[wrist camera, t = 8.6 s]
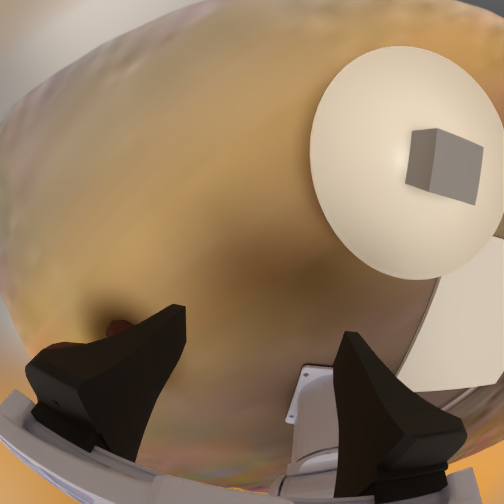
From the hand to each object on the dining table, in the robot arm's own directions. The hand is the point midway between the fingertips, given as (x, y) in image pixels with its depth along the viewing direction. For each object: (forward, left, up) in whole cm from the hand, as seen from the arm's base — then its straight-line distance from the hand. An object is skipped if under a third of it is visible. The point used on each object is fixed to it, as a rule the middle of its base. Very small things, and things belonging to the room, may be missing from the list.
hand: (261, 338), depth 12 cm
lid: (+9, -8, -5) cm, 13 cm away
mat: (-4, -23, -10) cm, 25 cm away
